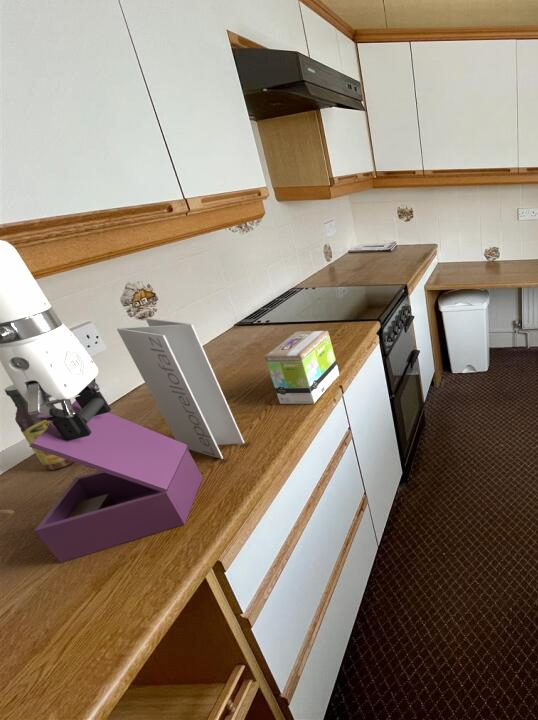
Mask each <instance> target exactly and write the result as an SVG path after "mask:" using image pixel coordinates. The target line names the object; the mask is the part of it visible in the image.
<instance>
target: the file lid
mask: <svg viewBox="0 0 538 720" xmlns="http://www.w3.org/2000/svg"><path fill="white" fill-rule="evenodd" d="M71 404H72V407H73V410H74V413H75V414H77V413H79V414H80V415H81V417H82V418H83V420H84V421H85V423H86V424H87V426H88V427H89V429H90V430H91V432H92V433H91V434H90V435H89V436H86V437H82V438H78V439H74V440H70V441H66V440H64V438H63V437H62V436H61V434H60V433H59V431H58V430H57V429H56V427H55V426H54V425H53V423H52V424H51V425H50V426H49V427H48V428H47V429H46V430H45V431H44V432H43V433H42V434H41V435H40V436H39V437H38V438H37V439H36V440H35V441H34V442H33V443H32V444H31V445H30V444H29V447H30V448H31V449H32V448H35V449H38V450H41V451H43V452H46V453H49V454H52V455H55V456H58V457H61V458H64V459H67V460H70V461H73V462H74V463H76V464H78V465H81V466H84V467H87V468H91V469H94V470H95V471H98V472H99V471H102V472H105V473H108V474H111V475H114V476H117V477H120V478H123V479H125V480H128V481H131V482H134V483H137V484H140V485H143V486H146V487H149V488H152V489H155V490H158V491H161V492H165V491H166V490H167V488H168V486H169V484H170V482H171V480H172V478H173V475H174V473H175V471H176V469H177V467H178V465H179V463H180V461H181V459H182V457H183V454H184V452H185V450H186V448H187V446H188V445H186V444H184V443H181V442H179V441H176V440H175V438H171V437H170V436H166V435H164V434H161V433H159V432H157V431H155V430H152V429H150V428H147V427H145V426H143V425H140V424H138V423H135V422H133V421H130V420H128V419H126V418H123V417H121V416H118V415H117V414H113V413H111V412H108V413H104V414H100V415H96V416H94V415H95V414H96V413H97V412H98V411H99V409H100V408H101V407H102V406H103V405H104V401H103V400H102V399H100V398H93V399H91V400H90V402H89V403H88V404H87V405H86V406H85V407H84V408H83V409H82V408H81V407H80V405H79V404H78V402H77V401H76V400H74V401H73V402H71Z"/></svg>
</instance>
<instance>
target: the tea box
mask: <svg viewBox="0 0 538 720" xmlns="http://www.w3.org/2000/svg"><path fill="white" fill-rule="evenodd" d="M264 359H265V363H266V366H267V368H268V372H269V374H270V377H271V381H272V384H273V387H274V390H275V393H276V396H277V398H278V402H279V404H280V405H308V404H310V405H312V404H313V405H314V404H316V402H317V400H319V399H320V398H321V396H322V395H323V394H324V393H325V392H326V391H327V390H328V388H329V387H330V386H331V385H332V383H334V382H335V381H336V380H337V378H338V377H339V376H340V371H339V367H338V363H337V359H336V356H335V351H334V348H333V345H332V341H331V336H330V334H329V331H328V330H313V331H312V330H305V331H304V330H303V331H302V330H301V331H294V332H293V333H292V334H291V335H289V336H288V337H287V338H286V339H284V340H283V341H282V342H280V343H279V344H278V345H276V346H274V347H273V348H272V349H271V350H270V351H268V352H267V353H266V354H264Z"/></svg>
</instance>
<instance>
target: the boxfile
mask: <svg viewBox="0 0 538 720" xmlns="http://www.w3.org/2000/svg"><path fill="white" fill-rule="evenodd" d="M202 481H203V476H202V474H201V472H200V470H199V468H198V466H197V464H196V462H195V460H194V458H193V456H192V454H191V452H190V450H189V449H186V450H185V452H184V454H183V457H182V459H181V461H180V463H179V465H178V467H177V469H176V471H175V473H174V475H173V478H172V480H171V482H170V484H169V486H168V488H167V490H166V491H165V492H161V491H158V490H155V489H152V488H149V487H146V486H143V485H140V484H137V483H134V482H131V481H128V480H125V479H123V478H120V477H117V476H114V475H111V474H108V473H105V472H102V471H99V470H98V471H96V472H92V473H88V474H84V475H80V476H77V477H74V478H73V480H72V481H71V483H70V484H69V485H68V486H67V487H66V489H65V490H64V492H63V493H62V494H61V495H60V497H59V498H58V499H57V500H56V502H55V503H54V505H53V506H52V507H51V508H50V509H49V511H48V512H47V513H46V515H45V516H44V517H43V518H42V520H41V521H40V522H39V524H38V525H36V527H35V529H34V533H35V534H36V536H37V537H39V539H40V540H41V541H42V542H43V543H44V545H45V547H47V549H48V550H49V551H50V552H51V553H52V555H53V556H54V558H56V560H58V562H59V563H60V564H62V563H66V562H69V561H71V560H74V559H78V558H81V557H84V556H89V555H90V554H94V553H98V552H101V551H104V550H106V549H110V548H114V547H116V546H120V545H123V544H125V543H130V542H133V541H136V540H139V539H143V538H146V537H149V536H152V535H156V534H159V533H162V532H165V531H168V530H172V529H174V528H178V527H182V526H184V525H186V522H187V520H188V518H189V515H190V512H191V510H192V506H193V504H194V501H195V499H196V497H197V494H198V492H199V488H200V486H201V483H202ZM105 494H109V495H110V496H111V498H112V499H113V501H114V502H115V504H116V505H113V506H110V507H106V508H103V509H99V510H96V511H92V512H89V513H85V514H82V515H78V516H74V517H71V518H67V517H68V516H69V515H70V513H71V512H72V510H73V509H74V508H75V506H76V505H77V503H78V502H80V501H84V500H87V499H91V498H94V497H98V496H102V495H105Z"/></svg>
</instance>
